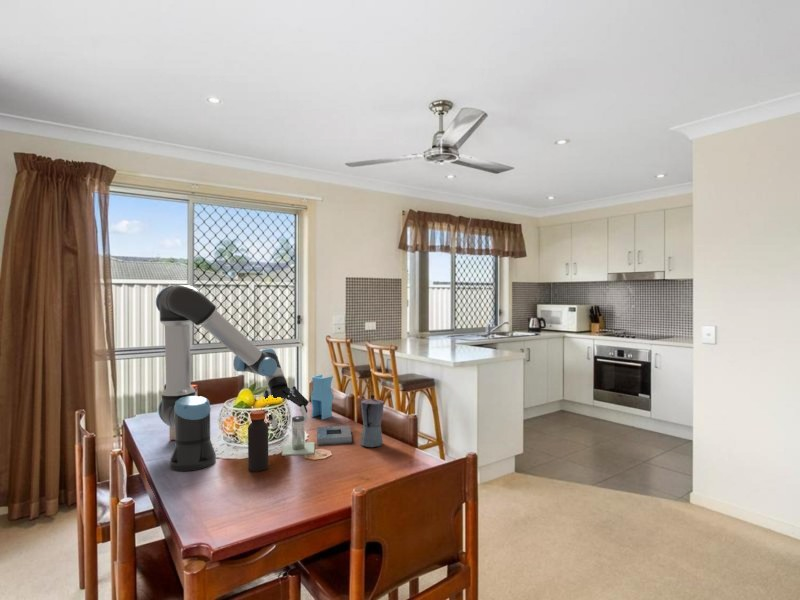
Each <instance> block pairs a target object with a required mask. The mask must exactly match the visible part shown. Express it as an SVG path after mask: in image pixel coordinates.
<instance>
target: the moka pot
mask: <svg viewBox="0 0 800 600" xmlns="http://www.w3.org/2000/svg"><path fill="white" fill-rule="evenodd" d="M384 404H385V402H384V401H383V400H381V399H377V398H375V394H371V395H370V398H368V399H364V400H361V401H360V407H361V416H362V421H363V424H362V425H363V427H362V432H361V439H360V445H361V446H362V447H367V448H377V447H381V446H383V443H384V442H383V434H382V426H381V425H382V420H383V412H384V406H385V405H384Z"/></svg>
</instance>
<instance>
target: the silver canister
mask: <svg viewBox="0 0 800 600" xmlns="http://www.w3.org/2000/svg"><path fill="white" fill-rule="evenodd" d="M305 423H306V422H305V419H304V416H302V415H295V416H293V417H291V434H292V435H291V440H292V441H291V442H292V449H293V450H302V449H304V448H305V443H306V441H305V439H306V437H305V436H306V435H305V427H306V426H305V425H306V424H305Z"/></svg>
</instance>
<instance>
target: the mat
mask: <svg viewBox="0 0 800 600" xmlns="http://www.w3.org/2000/svg"><path fill="white" fill-rule="evenodd" d="M315 443H316V442H315V441H312V442H311V441H310V442H309V441H308V442H305V448H304V449H302V450H293V449H292V443H284V444H283V448H282V453H281V457H282V456H284V457H285V456H299V455H301V456H302V455H314V454H315V447H316V446H315Z"/></svg>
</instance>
